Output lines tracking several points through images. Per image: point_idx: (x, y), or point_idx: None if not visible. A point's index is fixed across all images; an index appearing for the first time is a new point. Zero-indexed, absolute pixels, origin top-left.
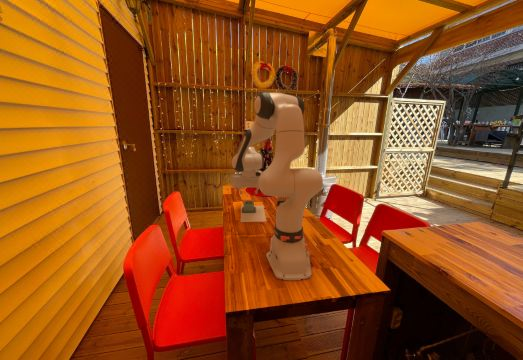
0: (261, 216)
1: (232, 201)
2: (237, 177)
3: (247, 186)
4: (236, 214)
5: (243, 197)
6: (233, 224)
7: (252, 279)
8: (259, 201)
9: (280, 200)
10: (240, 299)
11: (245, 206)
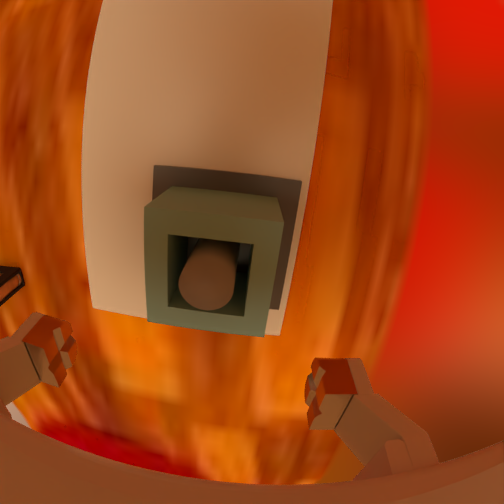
0: (119, 76)
1: None
2: None
3: (164, 499)
4: (343, 204)
5: (239, 453)
6: (382, 23)
7: None
8: (135, 395)
9: None
10: None
11: (259, 210)
